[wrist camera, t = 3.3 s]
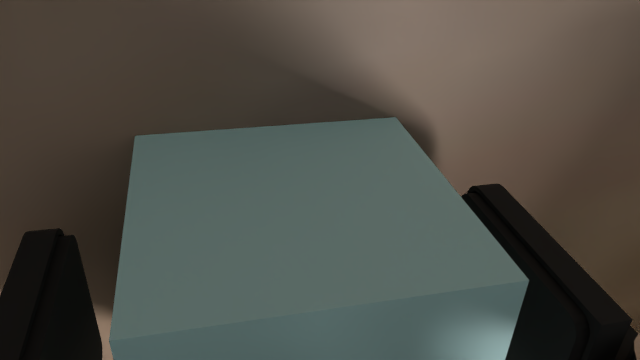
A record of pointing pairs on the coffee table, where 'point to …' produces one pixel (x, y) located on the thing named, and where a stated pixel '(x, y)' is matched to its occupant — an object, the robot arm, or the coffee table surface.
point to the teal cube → (305, 251)
